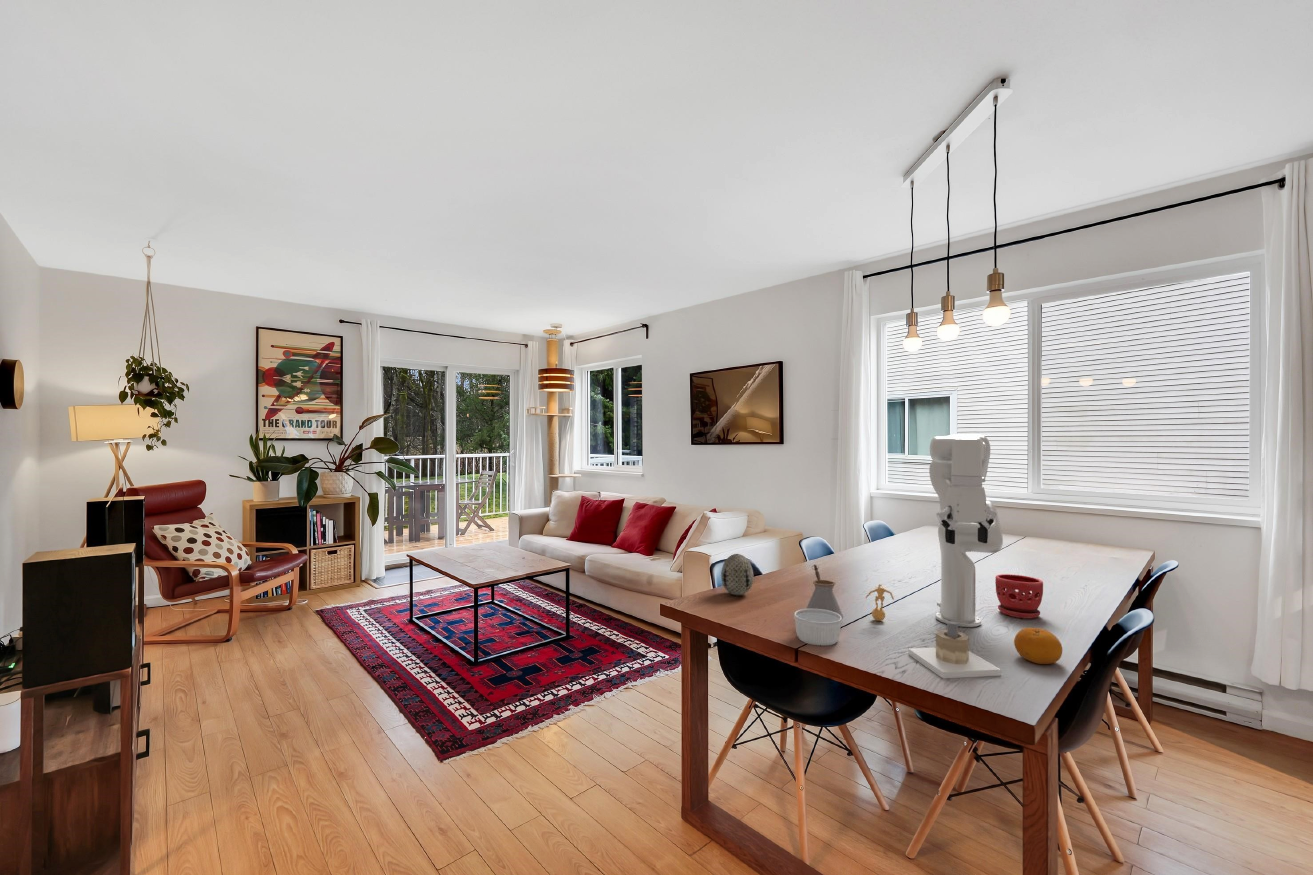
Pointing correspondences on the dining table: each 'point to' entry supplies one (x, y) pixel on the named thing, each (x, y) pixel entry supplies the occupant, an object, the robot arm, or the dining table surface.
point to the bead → (952, 648)
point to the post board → (949, 670)
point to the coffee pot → (823, 595)
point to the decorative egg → (737, 574)
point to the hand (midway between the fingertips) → (966, 542)
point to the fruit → (1038, 645)
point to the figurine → (878, 612)
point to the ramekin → (818, 626)
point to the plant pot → (1019, 595)
